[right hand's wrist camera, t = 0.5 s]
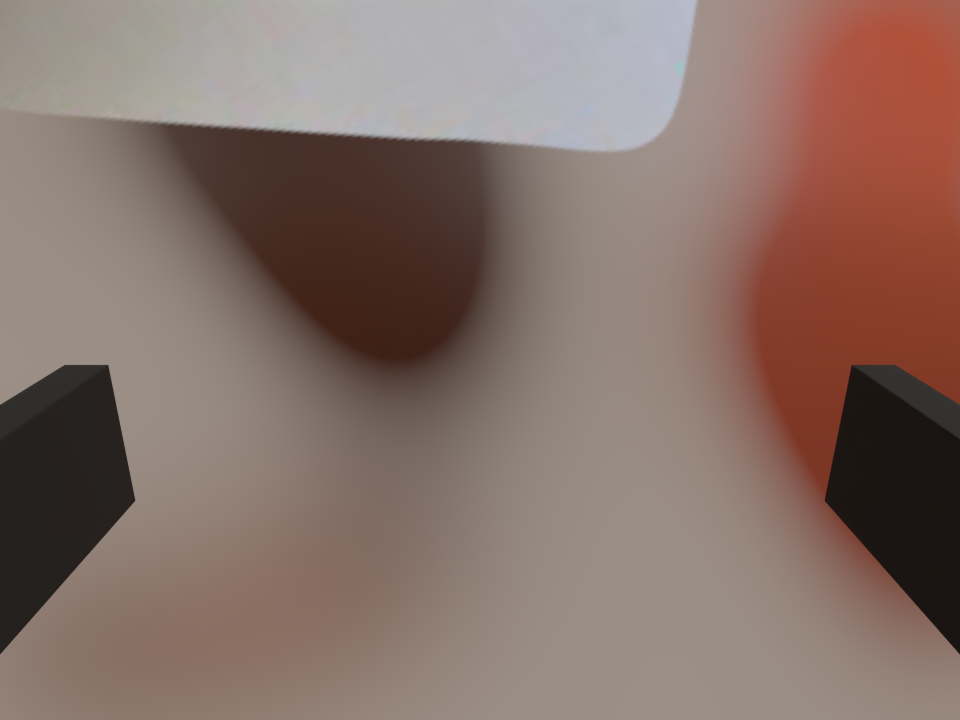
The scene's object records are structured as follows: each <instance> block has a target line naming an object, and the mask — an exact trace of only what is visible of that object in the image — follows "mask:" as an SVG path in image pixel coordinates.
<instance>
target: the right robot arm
mask: <svg viewBox="0 0 960 720" xmlns="http://www.w3.org/2000/svg"><path fill="white" fill-rule="evenodd" d="M134 502H135V497H134V492H133V487H132V482H131V477H130V472H129V467H128V462H127V457H126V452H125V447H124V442H123V437H122V432H121V427H120V422H119V417H118V412H117V407H116V402H115V397H114V392H113V387H112V382H111V377H110V372H109V367H108V365H64V366H62V367H61V368H59V369H58V370H56V371H54V372H53V373H51V374H50V375H48V376H46V377H45V378H43V379H41V380H40V381H38V382H37V383H35V384H33V385H32V386H30V387H28V388H27V389H25V390H24V391H22V392H20V393H19V394H17V395H16V396H14V397H12V398H11V399H9V400H7V401H6V402H4V403H3V404H1V405H0V654H1V653H2V652H3V650H4V649H5V648H6V647H7V646H8V645H9V644H10V643H11V641H12V640H13V639H14V638H15V637H16V636H17V635H18V633H19V632H20V631H21V630H22V629H23V628H24V627H25V625H26V624H27V623H28V622H29V621H30V620H31V619H32V617H33V616H34V615H35V614H36V613H37V612H38V611H39V610H40V608H41V607H42V606H43V605H44V604H45V603H46V602H47V600H48V599H49V598H50V597H51V596H52V595H53V594H54V592H55V591H56V590H57V589H58V588H59V587H60V586H61V585H62V583H63V582H64V581H65V580H66V579H67V578H68V576H69V575H70V574H71V573H72V572H73V571H74V570H75V569H76V567H77V566H78V565H79V564H80V563H81V562H82V561H83V559H84V558H85V557H86V556H87V555H88V554H89V553H90V551H91V550H92V549H93V548H94V547H95V546H96V545H97V544H98V542H99V541H100V540H101V539H102V538H103V537H104V536H105V535H106V533H107V532H108V531H109V530H110V529H111V528H112V527H113V525H114V524H115V523H116V522H117V521H118V520H119V519H120V517H121V516H122V515H123V514H124V513H125V512H126V511H127V509H128V508H129V507H130V506H131V505H132V504H133V503H134ZM825 502H826V503H827V504H828V505H829V506H830V507H831V508H832V509H833V511H834V512H835V513H836V514H837V515H838V516H839V517H840V519H841V520H842V521H843V522H844V523H845V524H846V525H847V527H848V528H849V529H850V530H851V531H852V532H853V533H854V534H855V536H856V537H857V538H858V539H859V540H860V541H861V542H862V544H863V545H864V546H865V547H866V548H867V549H868V550H869V552H870V553H871V554H872V555H873V556H874V557H875V558H876V560H877V561H878V562H879V563H880V564H881V565H882V566H883V567H884V569H885V570H886V571H887V572H888V573H889V574H890V575H891V577H892V578H893V579H894V580H895V581H896V582H897V583H898V585H899V586H900V587H901V588H902V589H903V590H904V591H905V592H906V594H907V595H908V596H909V597H910V598H911V599H912V600H913V602H914V603H915V604H916V605H917V606H918V607H919V608H920V610H921V611H922V612H923V613H924V614H925V615H926V616H927V617H928V619H929V620H930V621H931V622H932V623H933V624H934V625H935V627H936V628H937V629H938V630H939V631H940V632H941V633H942V635H943V636H944V637H945V638H946V639H947V640H948V641H949V643H950V644H951V645H952V646H953V647H954V648H955V649H956V650H957V652H958V653H959V654H960V405H959V404H957V403H956V402H954V401H953V400H951V399H949V398H948V397H946V396H944V395H943V394H941V393H940V392H938V391H936V390H935V389H933V388H931V387H930V386H928V385H927V384H925V383H923V382H922V381H920V380H919V379H917V378H915V377H914V376H912V375H910V374H909V373H907V372H906V371H904V370H902V369H901V368H899V367H897V366H896V365H852V367H851V372H850V377H849V382H848V387H847V392H846V397H845V402H844V407H843V412H842V417H841V422H840V427H839V432H838V437H837V442H836V447H835V452H834V457H833V462H832V467H831V472H830V477H829V482H828V487H827V492H826V497H825Z"/></svg>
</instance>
